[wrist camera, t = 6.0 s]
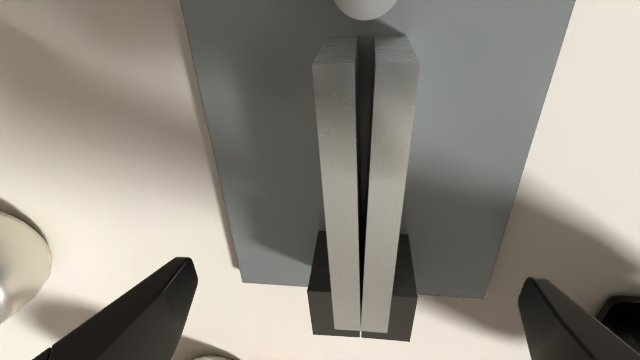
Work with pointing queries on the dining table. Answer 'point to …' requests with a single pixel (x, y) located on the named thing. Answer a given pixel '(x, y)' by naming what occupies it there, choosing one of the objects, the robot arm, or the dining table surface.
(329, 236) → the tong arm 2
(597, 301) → the dining table surface
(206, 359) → the soda can
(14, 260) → the plastic bottle
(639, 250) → the dining table surface
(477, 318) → the dining table surface
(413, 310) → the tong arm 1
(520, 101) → the slate rest
